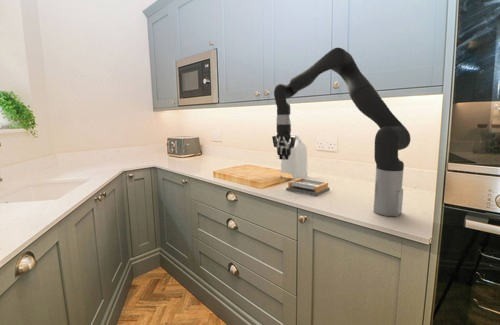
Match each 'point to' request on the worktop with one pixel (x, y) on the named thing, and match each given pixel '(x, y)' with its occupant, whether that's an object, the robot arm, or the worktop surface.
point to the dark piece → (283, 151)
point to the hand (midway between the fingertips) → (283, 155)
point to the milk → (296, 160)
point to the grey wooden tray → (307, 183)
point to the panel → (316, 192)
